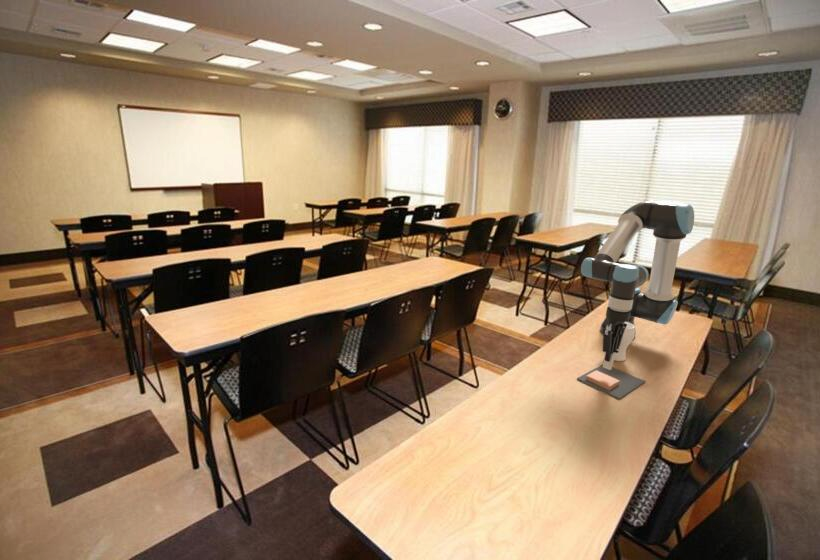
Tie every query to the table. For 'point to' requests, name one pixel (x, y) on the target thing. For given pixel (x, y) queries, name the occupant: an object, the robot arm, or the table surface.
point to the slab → (602, 380)
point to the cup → (625, 342)
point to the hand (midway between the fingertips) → (607, 367)
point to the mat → (626, 380)
